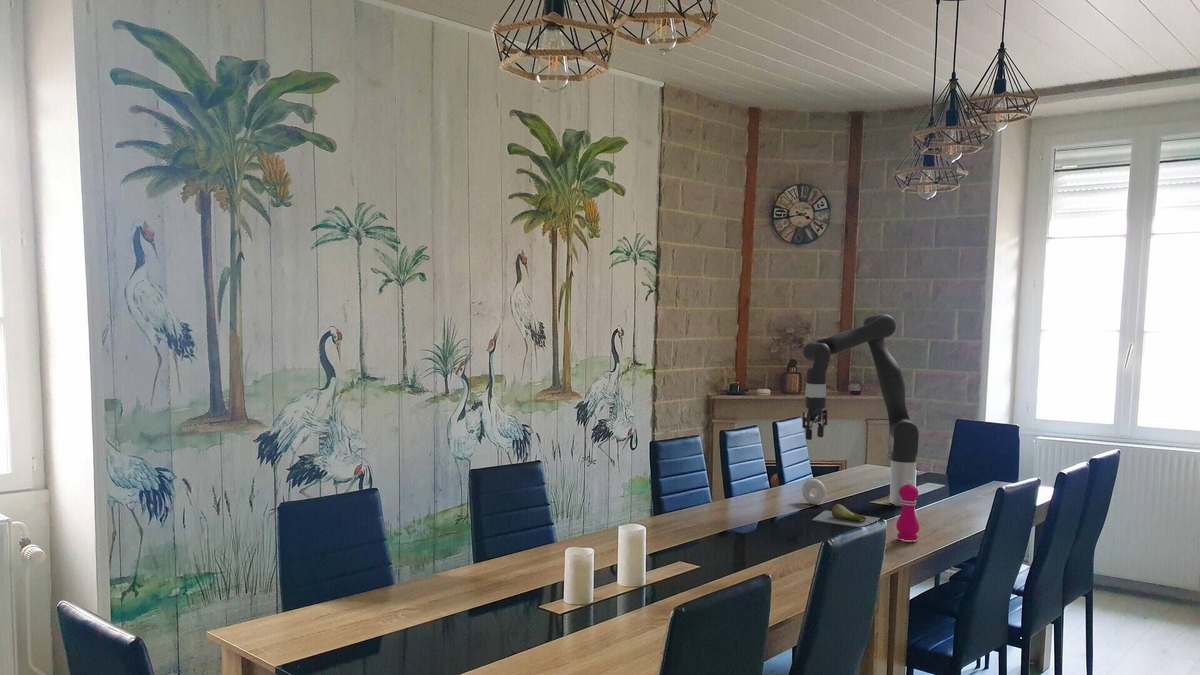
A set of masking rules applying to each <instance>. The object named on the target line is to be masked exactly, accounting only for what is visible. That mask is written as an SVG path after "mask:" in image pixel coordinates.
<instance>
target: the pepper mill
mask: <svg viewBox="0 0 1200 675" xmlns="http://www.w3.org/2000/svg"><path fill="white" fill-rule="evenodd" d="M906 484H907V485H903V486H902V487H901V488H900V490H899V495H900V496H901V498H902V499H901V502H900V503H901V504H902V506H901V511H900V512H901V513H900V515H899V516H898V519H897V520H896V523H895V524H896V525H895V527H896V530H897V531H898V532H897V534H896V535H897V536H896V537H898V538H899V539H904V540H916V539H917V538H918V534H917V533H919V531H920V523H919V521H918V519H917V517H916V512H915V511H916V510H915V509H916V508H915V507H916V505H917V500H916V499H918V497H919V490H918V488H917V487H916V485H915V486H913V485H911V484H912V482H911V481H910V480H908V481H907V482H906Z"/></svg>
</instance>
